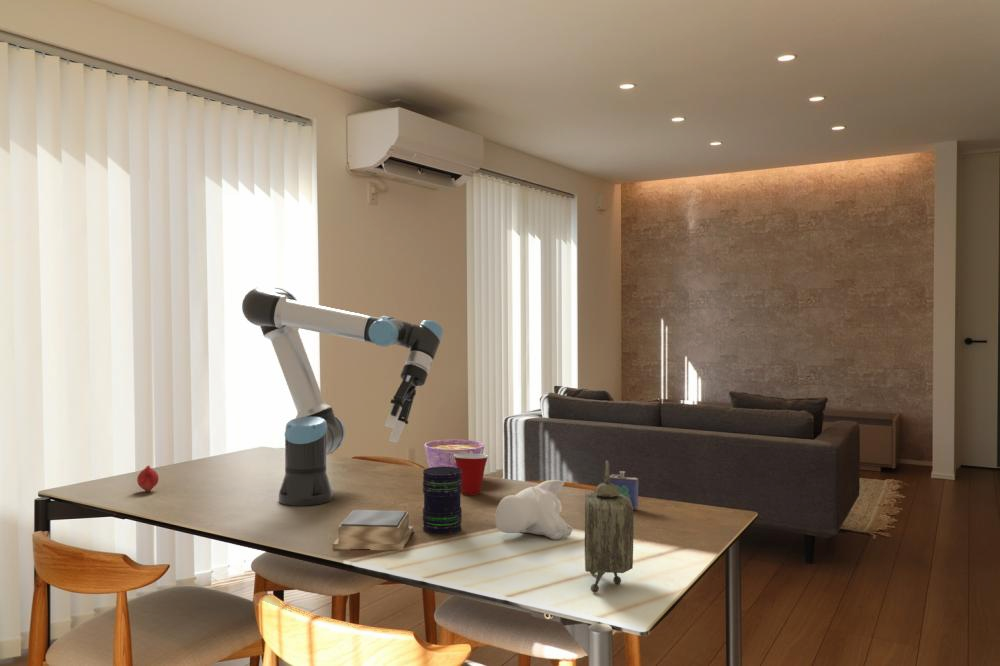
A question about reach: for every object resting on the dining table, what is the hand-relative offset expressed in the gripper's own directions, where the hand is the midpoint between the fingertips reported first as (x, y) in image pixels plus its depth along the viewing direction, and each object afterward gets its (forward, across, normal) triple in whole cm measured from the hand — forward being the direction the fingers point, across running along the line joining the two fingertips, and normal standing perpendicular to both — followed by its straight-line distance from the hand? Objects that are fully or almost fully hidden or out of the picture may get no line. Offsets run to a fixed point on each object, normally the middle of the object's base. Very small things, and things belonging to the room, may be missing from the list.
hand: (391, 434), depth 215 cm
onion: (+33, +22, +67) cm, 78 cm away
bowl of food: (-2, +38, -18) cm, 42 cm away
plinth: (+32, -23, -10) cm, 40 cm away
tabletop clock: (+30, -50, -62) cm, 85 cm away
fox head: (+18, -18, -48) cm, 54 cm away
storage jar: (+24, -15, -24) cm, 37 cm away
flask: (0, +4, -69) cm, 69 cm away
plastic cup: (+5, +21, -26) cm, 33 cm away
